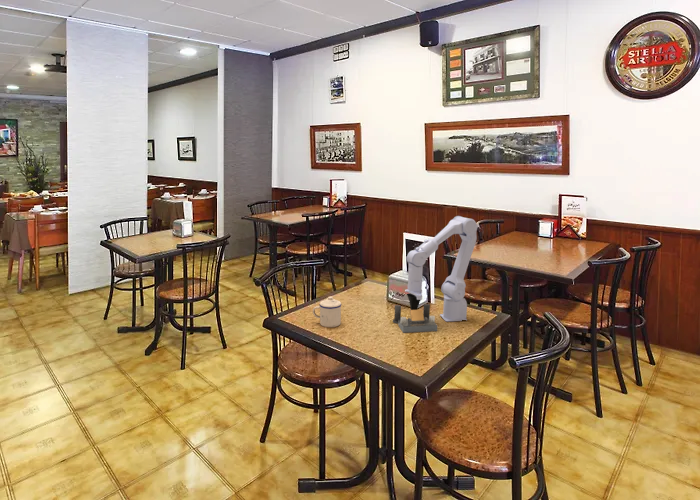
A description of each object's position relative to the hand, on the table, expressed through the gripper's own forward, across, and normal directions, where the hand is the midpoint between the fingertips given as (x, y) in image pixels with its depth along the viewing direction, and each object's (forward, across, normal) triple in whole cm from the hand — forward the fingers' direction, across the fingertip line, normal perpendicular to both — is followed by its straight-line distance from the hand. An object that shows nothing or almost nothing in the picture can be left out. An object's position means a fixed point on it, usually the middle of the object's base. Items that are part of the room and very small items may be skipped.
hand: (413, 311), depth 186 cm
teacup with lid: (+6, -4, -36) cm, 37 cm away
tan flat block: (+2, +6, 0) cm, 6 cm away
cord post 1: (+5, -2, -6) cm, 9 cm away
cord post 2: (+5, -2, +6) cm, 9 cm away
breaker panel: (+5, +6, 0) cm, 8 cm away
